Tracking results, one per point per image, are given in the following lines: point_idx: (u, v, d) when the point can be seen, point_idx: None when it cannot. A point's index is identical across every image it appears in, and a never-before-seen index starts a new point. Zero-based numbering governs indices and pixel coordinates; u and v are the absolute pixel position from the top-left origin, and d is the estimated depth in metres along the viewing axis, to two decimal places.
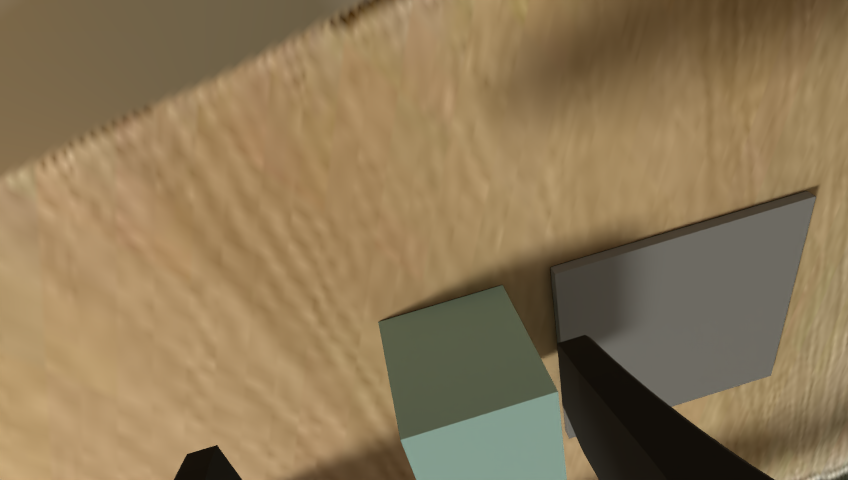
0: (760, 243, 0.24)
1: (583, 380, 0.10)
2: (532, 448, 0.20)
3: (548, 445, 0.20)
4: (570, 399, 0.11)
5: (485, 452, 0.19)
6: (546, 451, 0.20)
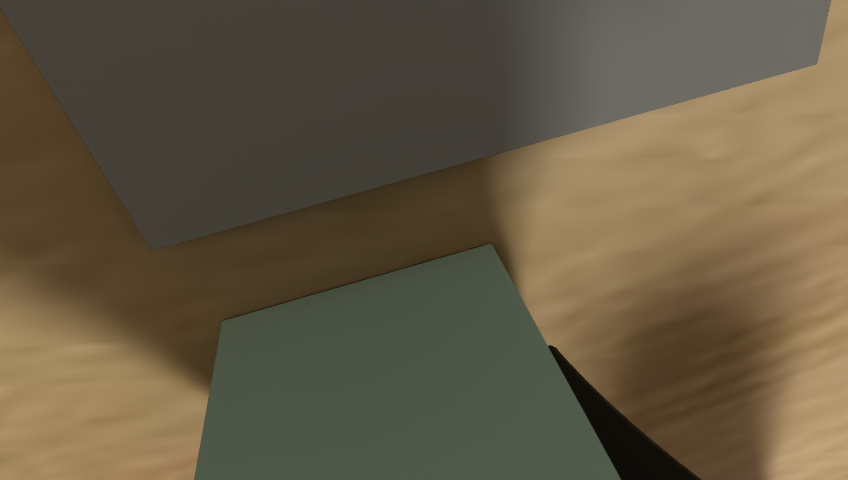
0: None
1: None
2: None
3: None
4: None
5: None
6: None
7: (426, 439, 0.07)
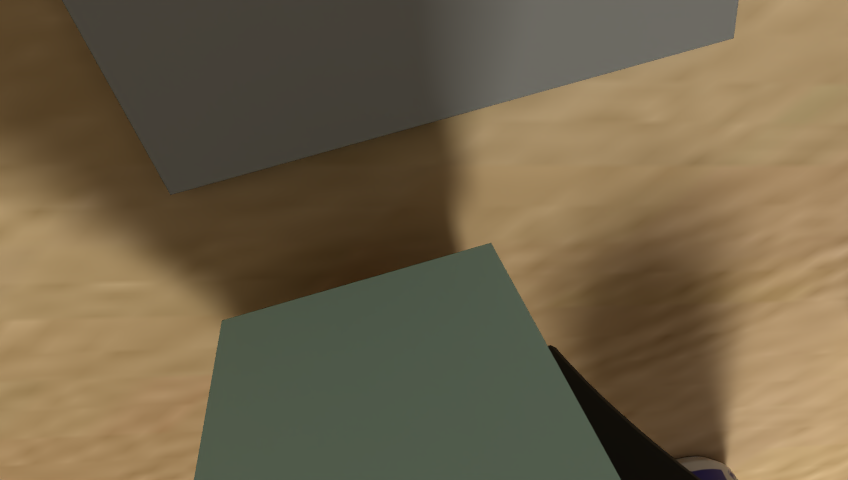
0: None
1: None
2: None
3: None
4: None
5: None
6: None
7: (426, 439, 0.08)
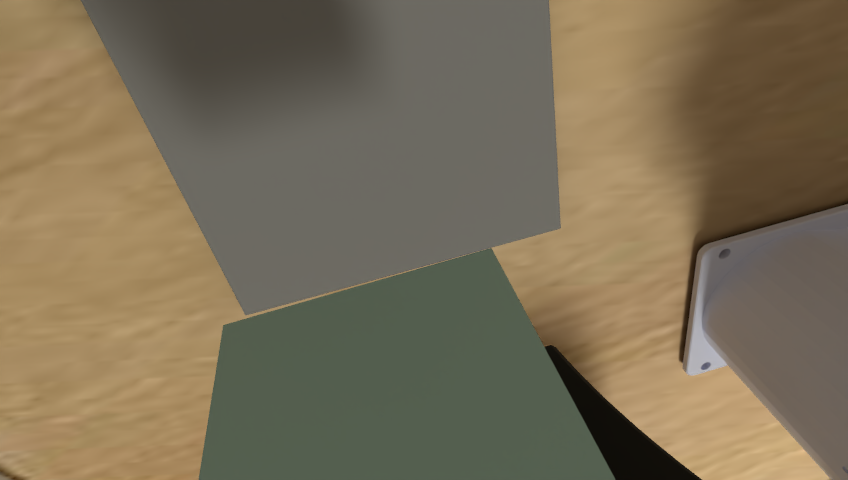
0: (172, 28, 0.14)
1: None
2: None
3: None
4: None
5: None
6: None
7: (427, 446, 0.08)
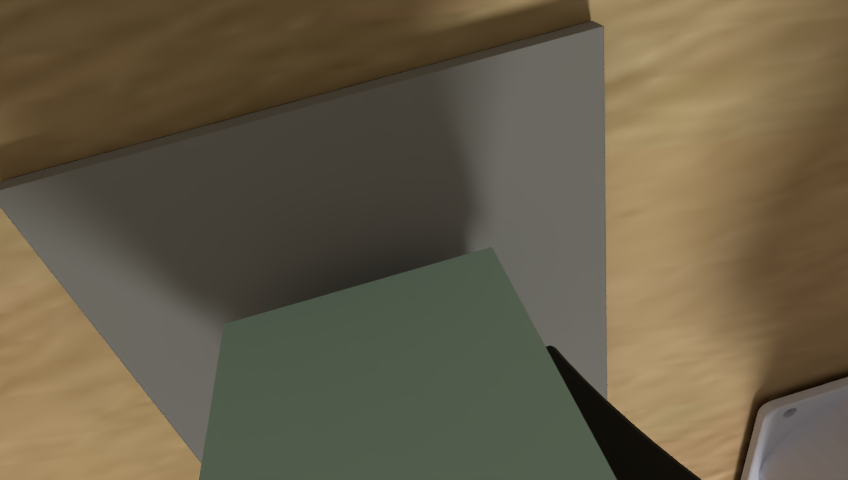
0: (146, 262, 0.11)
1: None
2: None
3: None
4: None
5: None
6: None
7: (428, 445, 0.08)
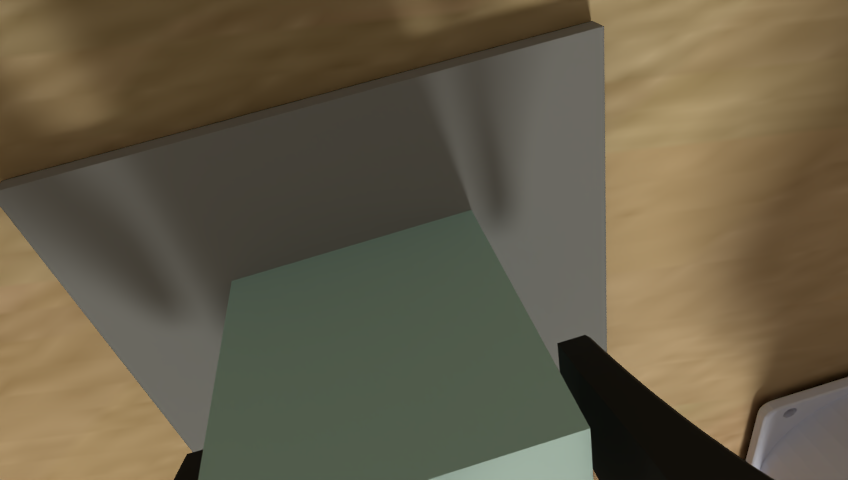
0: (146, 262, 0.11)
1: (583, 380, 0.10)
2: None
3: None
4: None
5: None
6: None
7: (408, 365, 0.09)
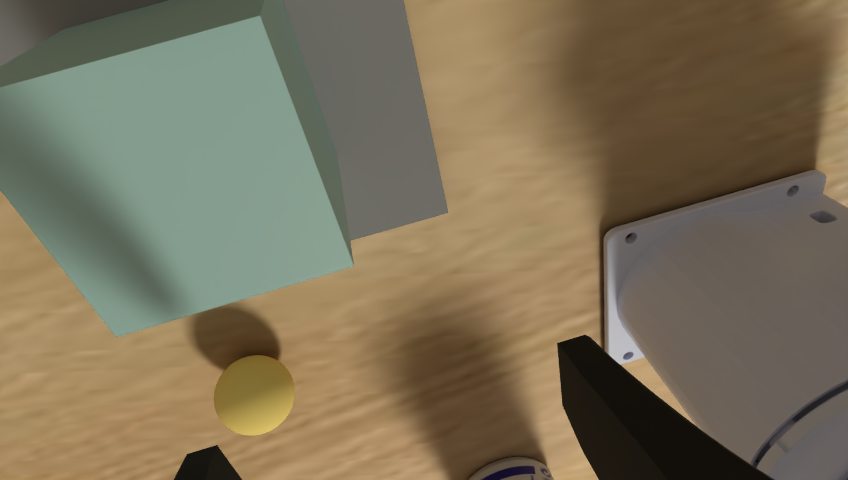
0: None
1: (583, 380, 0.10)
2: (134, 124, 0.10)
3: (123, 90, 0.09)
4: (570, 399, 0.11)
5: (149, 213, 0.11)
6: (145, 90, 0.09)
7: (159, 25, 0.11)
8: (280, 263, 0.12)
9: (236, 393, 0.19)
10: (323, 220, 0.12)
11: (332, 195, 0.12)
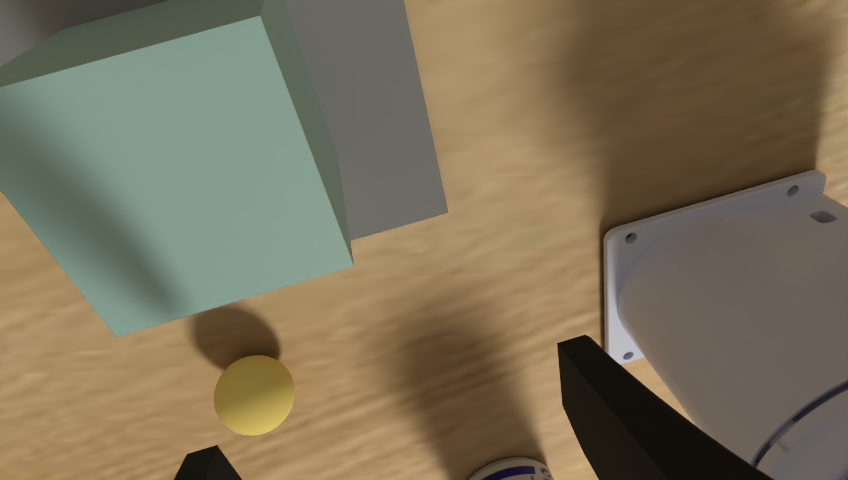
0: None
1: (583, 380, 0.10)
2: (134, 124, 0.10)
3: (123, 90, 0.09)
4: (570, 399, 0.11)
5: (149, 213, 0.11)
6: (145, 90, 0.09)
7: (159, 25, 0.11)
8: (280, 263, 0.12)
9: (236, 393, 0.19)
10: (323, 220, 0.12)
11: (332, 195, 0.12)
